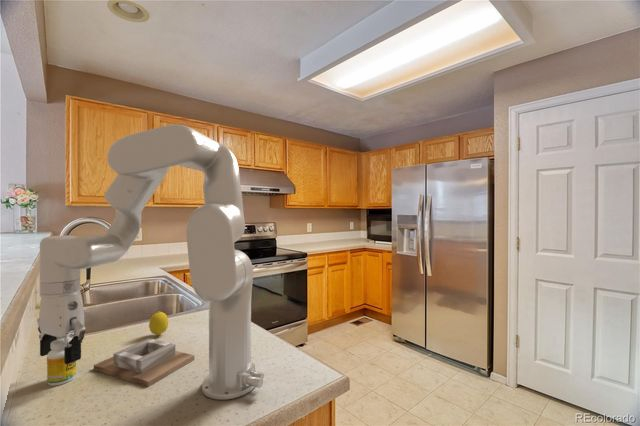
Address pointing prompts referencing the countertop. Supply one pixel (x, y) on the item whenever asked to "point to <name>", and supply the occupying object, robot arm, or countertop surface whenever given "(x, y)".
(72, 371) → the supplement bottle
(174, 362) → the dock board
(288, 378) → the countertop surface
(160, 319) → the lemon
